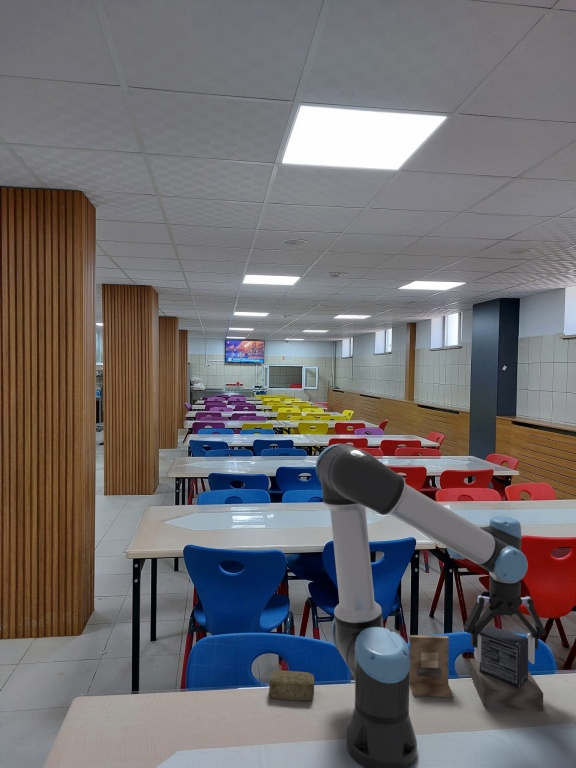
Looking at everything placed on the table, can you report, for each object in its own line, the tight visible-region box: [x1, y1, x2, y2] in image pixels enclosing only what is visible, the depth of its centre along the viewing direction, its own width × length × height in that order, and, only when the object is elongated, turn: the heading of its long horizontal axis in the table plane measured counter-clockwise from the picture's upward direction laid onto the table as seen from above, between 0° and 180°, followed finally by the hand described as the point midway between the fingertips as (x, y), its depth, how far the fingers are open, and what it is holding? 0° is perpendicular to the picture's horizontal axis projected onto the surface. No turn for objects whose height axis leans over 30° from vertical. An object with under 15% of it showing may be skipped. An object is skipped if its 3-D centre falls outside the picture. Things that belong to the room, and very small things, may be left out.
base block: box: [468, 658, 544, 712], centre depth 131 cm, size 14×14×5 cm
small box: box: [479, 625, 529, 688], centre depth 131 cm, size 11×6×10 cm, turn 45°
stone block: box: [268, 669, 315, 702], centre depth 129 cm, size 6×12×5 cm, turn 85°
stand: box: [409, 634, 454, 698], centre depth 132 cm, size 10×6×13 cm, turn 88°
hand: (504, 660), depth 131 cm, fingers open, 13 cm apart
